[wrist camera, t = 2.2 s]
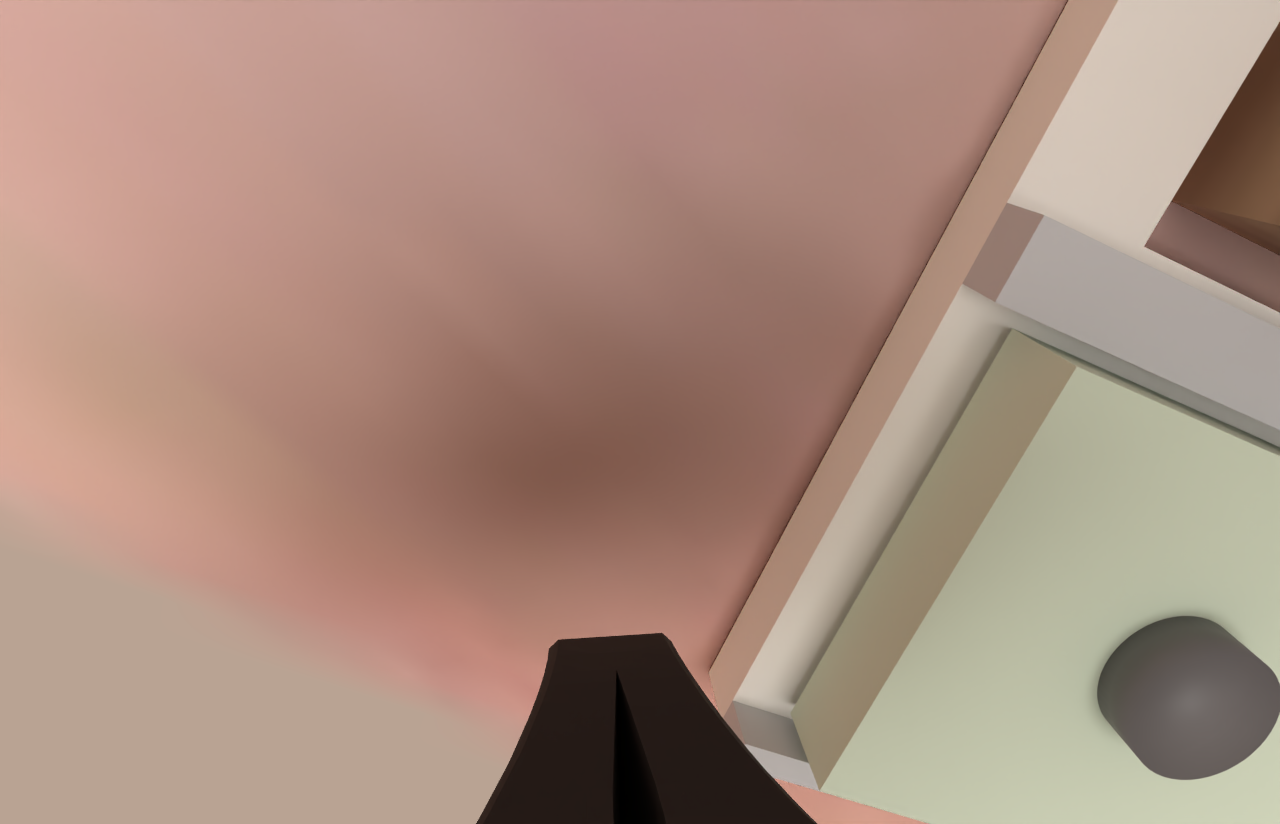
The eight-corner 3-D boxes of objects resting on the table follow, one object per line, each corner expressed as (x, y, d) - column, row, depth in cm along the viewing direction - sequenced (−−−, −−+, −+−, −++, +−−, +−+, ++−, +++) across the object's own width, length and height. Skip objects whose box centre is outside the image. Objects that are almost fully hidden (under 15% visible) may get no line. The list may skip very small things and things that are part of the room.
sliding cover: (1417, 508, 17) (1584, 596, 15) (1170, 832, 20) (1274, 962, 17) (1012, 328, 15) (1116, 390, 13) (790, 712, 18) (836, 837, 15)
